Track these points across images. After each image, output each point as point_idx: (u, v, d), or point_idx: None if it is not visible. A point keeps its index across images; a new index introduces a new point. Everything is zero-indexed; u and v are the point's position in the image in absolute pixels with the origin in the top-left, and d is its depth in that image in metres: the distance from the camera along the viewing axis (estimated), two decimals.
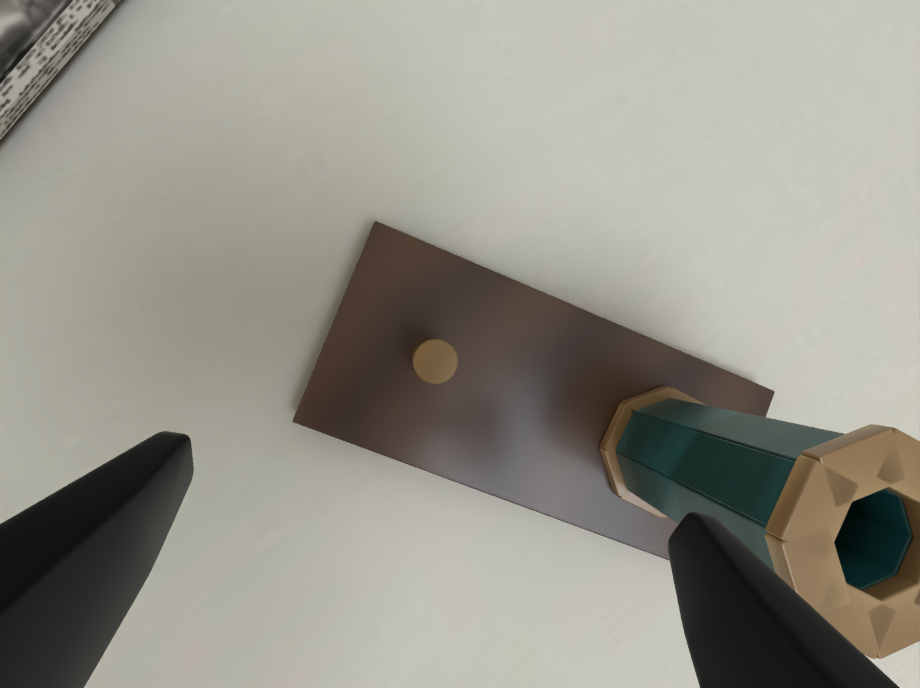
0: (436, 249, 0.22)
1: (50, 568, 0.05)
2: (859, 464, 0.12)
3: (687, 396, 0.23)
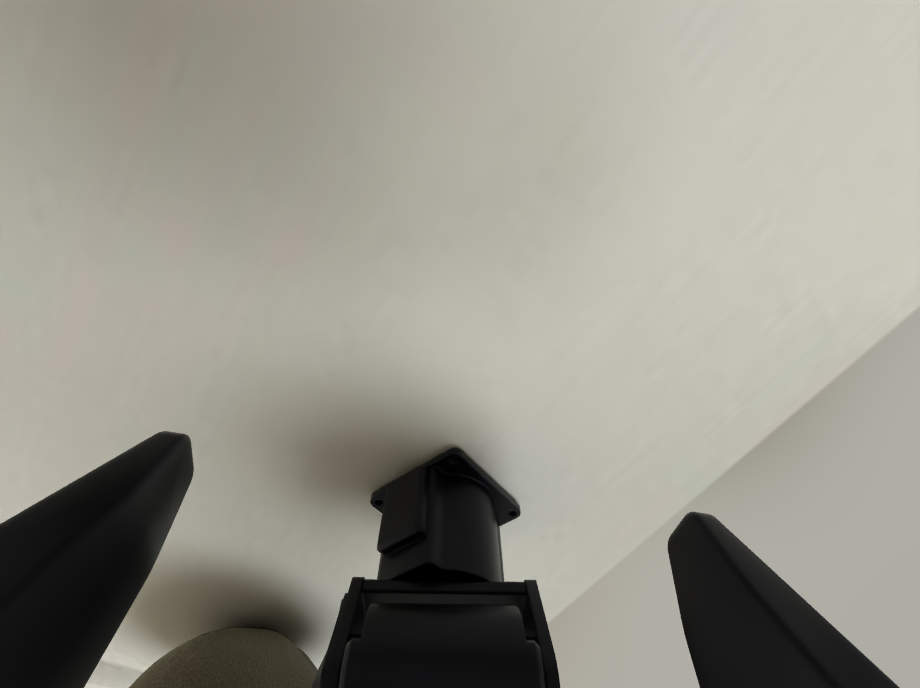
0: None
1: (50, 568, 0.05)
2: None
3: None
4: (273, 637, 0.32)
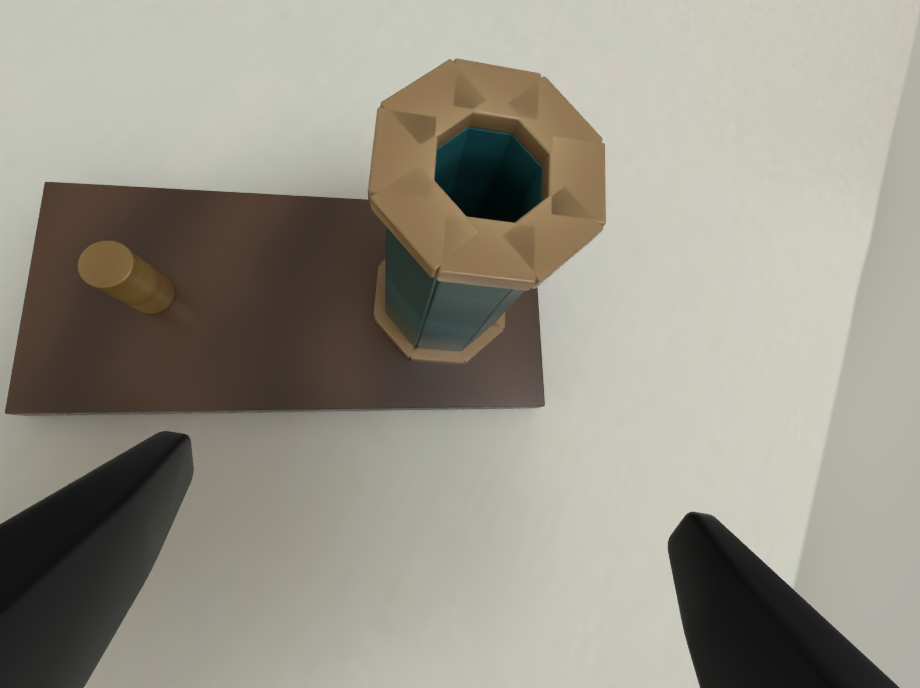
0: (124, 188, 0.21)
1: (50, 568, 0.05)
2: (429, 99, 0.11)
3: None
4: None
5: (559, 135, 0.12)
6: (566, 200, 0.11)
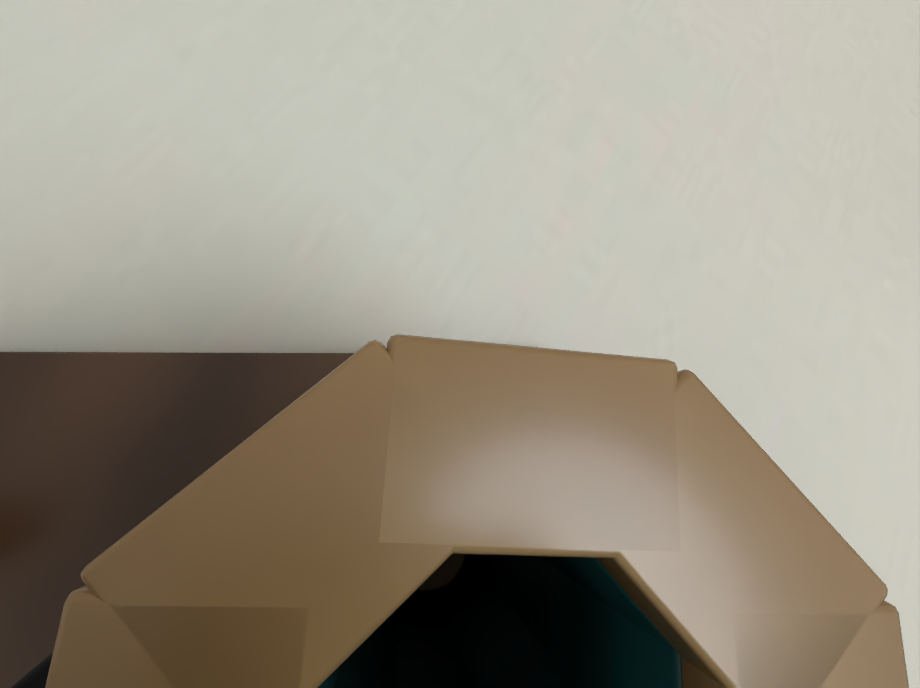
0: None
1: None
2: (284, 525, 0.03)
3: None
4: None
5: (754, 604, 0.03)
6: None
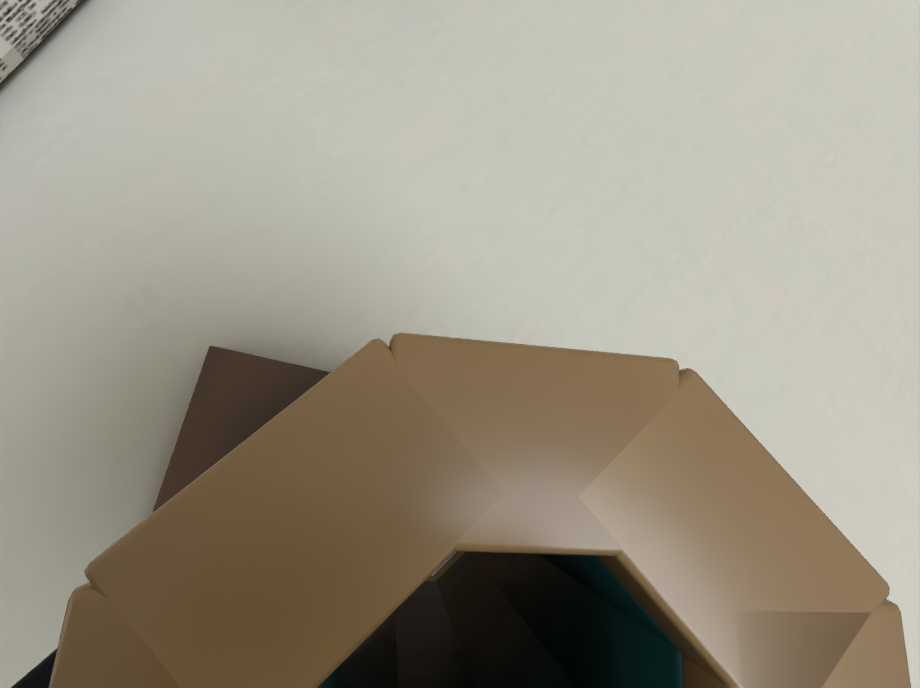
0: (282, 364, 0.20)
1: None
2: (287, 523, 0.03)
3: None
4: None
5: (757, 601, 0.03)
6: None
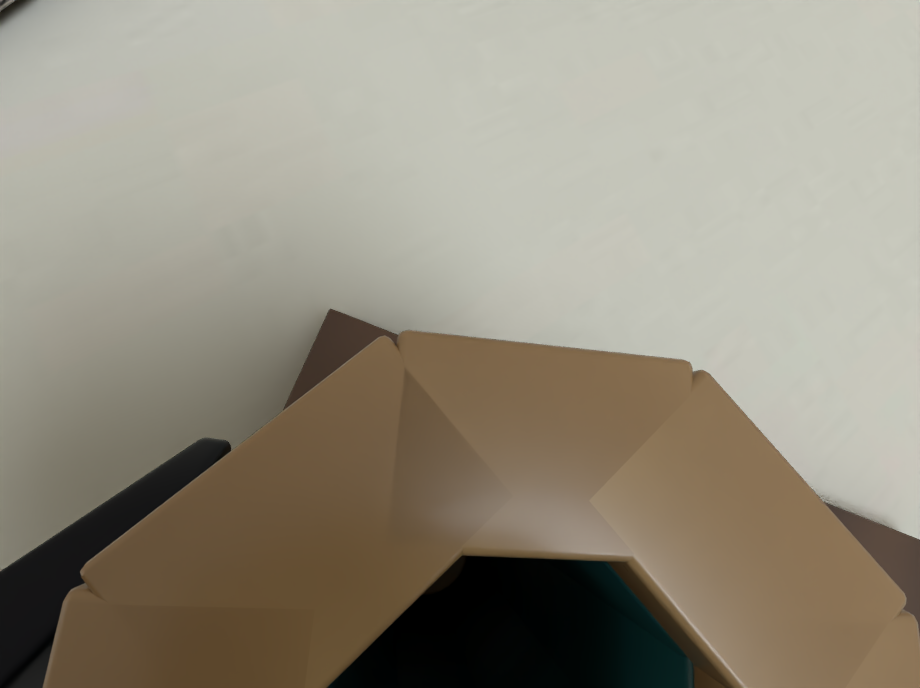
0: None
1: None
2: (289, 524, 0.03)
3: None
4: None
5: (772, 610, 0.03)
6: None
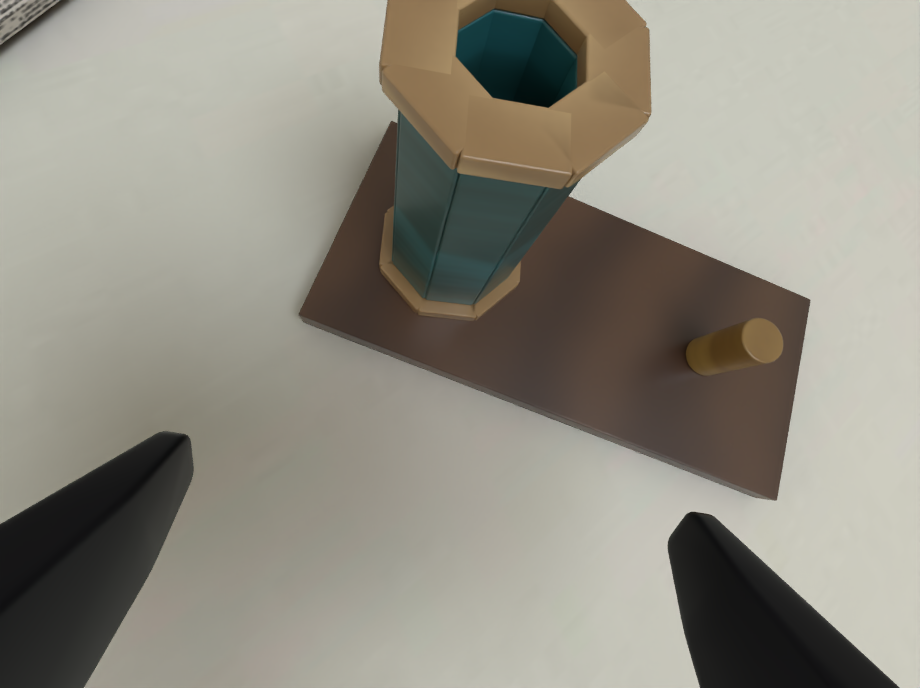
0: None
1: (50, 568, 0.05)
2: None
3: None
4: None
5: (598, 17, 0.10)
6: (606, 86, 0.10)
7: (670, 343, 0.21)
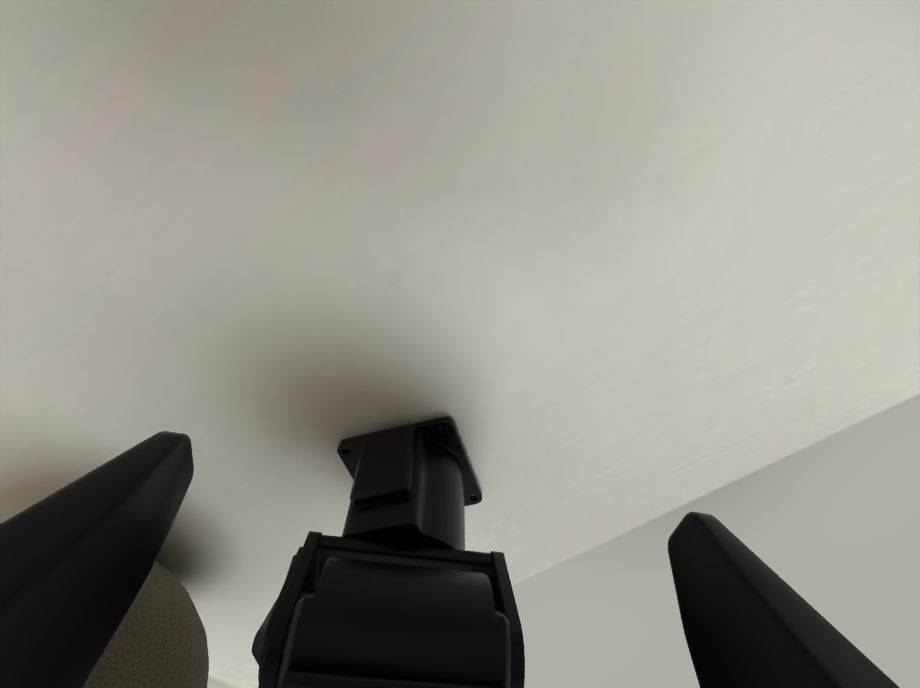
0: None
1: (50, 568, 0.05)
2: None
3: None
4: (160, 568, 0.28)
5: None
6: None
7: None
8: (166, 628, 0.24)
